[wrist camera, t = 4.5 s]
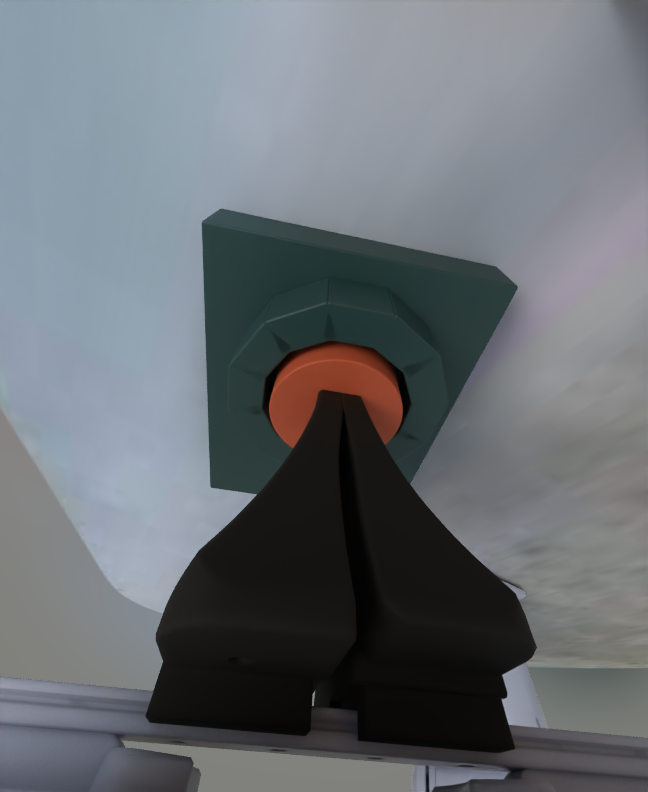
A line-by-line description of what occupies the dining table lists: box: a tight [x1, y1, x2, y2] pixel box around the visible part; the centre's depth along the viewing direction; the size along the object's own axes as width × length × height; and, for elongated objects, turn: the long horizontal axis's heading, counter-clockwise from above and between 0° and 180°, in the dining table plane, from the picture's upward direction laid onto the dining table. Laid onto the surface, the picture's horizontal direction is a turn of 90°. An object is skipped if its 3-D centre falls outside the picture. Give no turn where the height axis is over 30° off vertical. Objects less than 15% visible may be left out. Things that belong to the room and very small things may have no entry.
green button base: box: [202, 209, 518, 494], centre depth 15 cm, size 13×10×4 cm
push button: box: [269, 340, 403, 448], centre depth 12 cm, size 4×4×2 cm
